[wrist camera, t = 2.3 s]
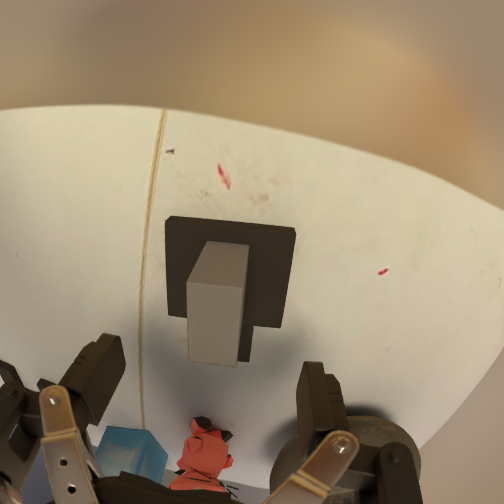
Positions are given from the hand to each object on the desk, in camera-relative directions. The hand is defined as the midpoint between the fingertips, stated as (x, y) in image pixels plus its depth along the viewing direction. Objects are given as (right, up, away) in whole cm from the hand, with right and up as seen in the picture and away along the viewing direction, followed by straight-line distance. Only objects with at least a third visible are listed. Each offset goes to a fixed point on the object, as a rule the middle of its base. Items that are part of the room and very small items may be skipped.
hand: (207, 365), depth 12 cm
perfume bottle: (-13, -19, +19) cm, 30 cm away
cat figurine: (-3, -14, +16) cm, 22 cm away
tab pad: (0, +2, +9) cm, 9 cm away
